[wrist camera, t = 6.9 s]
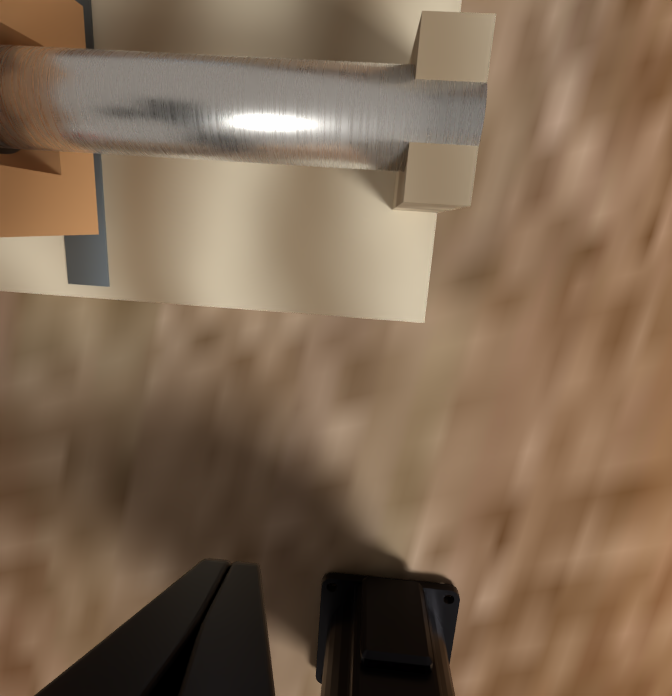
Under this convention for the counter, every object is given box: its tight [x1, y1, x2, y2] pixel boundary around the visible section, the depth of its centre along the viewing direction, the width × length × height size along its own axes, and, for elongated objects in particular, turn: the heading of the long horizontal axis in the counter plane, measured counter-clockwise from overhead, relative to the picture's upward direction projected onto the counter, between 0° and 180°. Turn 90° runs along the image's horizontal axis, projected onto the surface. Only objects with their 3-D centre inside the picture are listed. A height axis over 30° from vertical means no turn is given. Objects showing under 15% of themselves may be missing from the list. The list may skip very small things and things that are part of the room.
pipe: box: [0, 45, 487, 172], centre depth 12 cm, size 20×3×3 cm, turn 86°
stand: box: [0, 0, 496, 323], centre depth 14 cm, size 20×12×7 cm, turn 86°
